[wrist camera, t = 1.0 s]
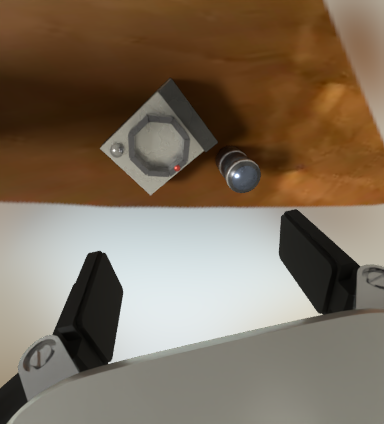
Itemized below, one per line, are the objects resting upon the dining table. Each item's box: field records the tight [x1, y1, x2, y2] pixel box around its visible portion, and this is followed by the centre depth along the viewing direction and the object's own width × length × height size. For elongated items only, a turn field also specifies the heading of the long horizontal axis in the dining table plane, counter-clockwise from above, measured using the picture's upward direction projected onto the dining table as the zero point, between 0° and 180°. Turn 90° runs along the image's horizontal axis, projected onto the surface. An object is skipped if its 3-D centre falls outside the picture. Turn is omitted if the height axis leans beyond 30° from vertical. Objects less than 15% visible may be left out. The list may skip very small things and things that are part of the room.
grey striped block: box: [100, 78, 218, 195], centre depth 30 cm, size 12×9×7 cm
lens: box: [215, 146, 261, 193], centre depth 32 cm, size 5×5×8 cm
